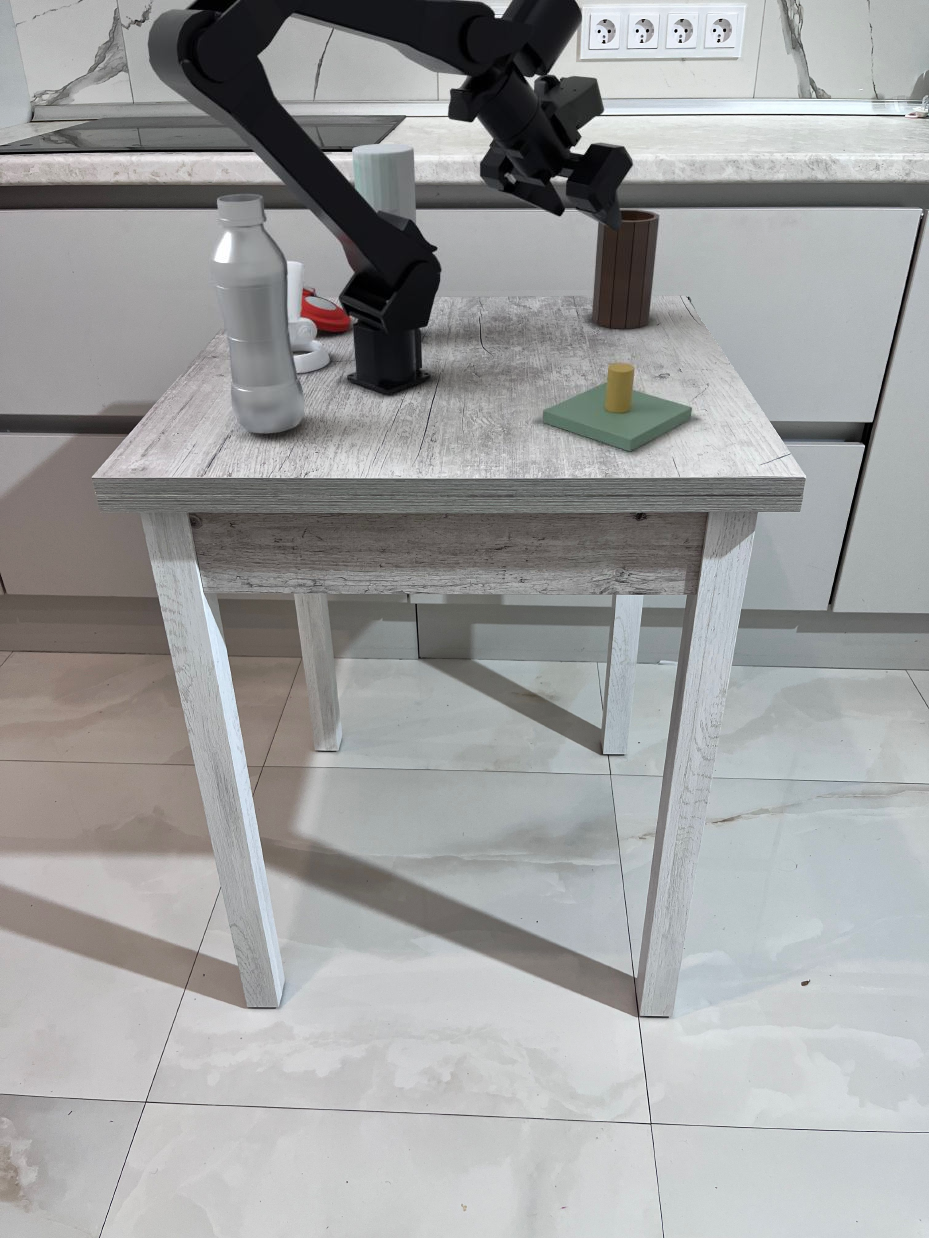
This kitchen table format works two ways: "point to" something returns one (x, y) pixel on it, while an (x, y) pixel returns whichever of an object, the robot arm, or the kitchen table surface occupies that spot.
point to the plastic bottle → (255, 317)
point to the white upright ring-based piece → (302, 325)
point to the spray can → (386, 178)
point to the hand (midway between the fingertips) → (589, 219)
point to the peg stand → (617, 412)
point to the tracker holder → (323, 312)
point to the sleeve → (625, 270)
